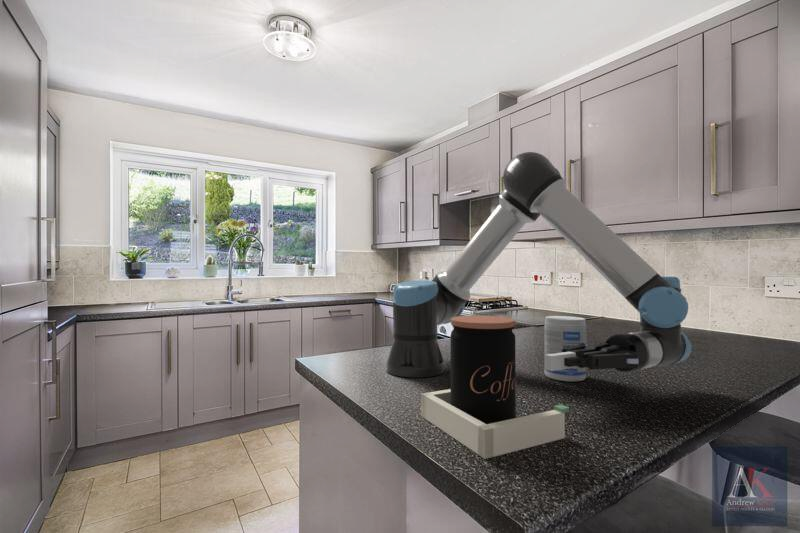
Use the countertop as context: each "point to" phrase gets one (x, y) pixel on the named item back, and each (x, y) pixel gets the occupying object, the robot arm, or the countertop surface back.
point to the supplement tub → (564, 343)
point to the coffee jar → (483, 367)
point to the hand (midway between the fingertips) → (547, 362)
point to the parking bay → (492, 426)
